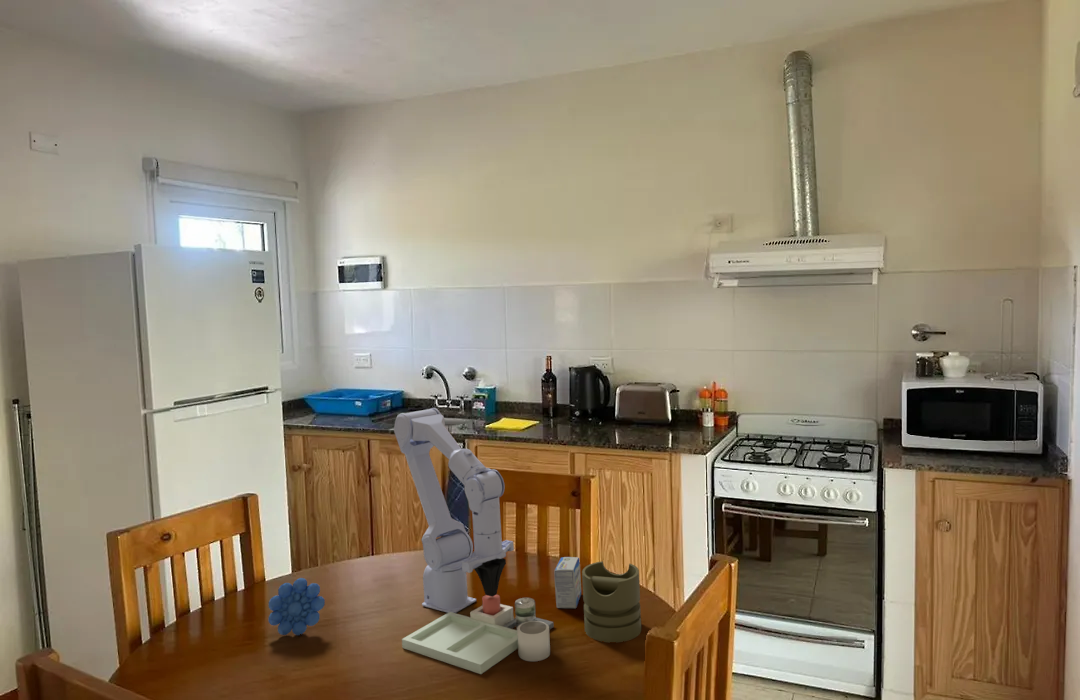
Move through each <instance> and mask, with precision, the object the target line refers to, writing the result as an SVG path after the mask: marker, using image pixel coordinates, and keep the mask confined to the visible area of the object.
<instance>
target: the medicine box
mask: <svg viewBox="0 0 1080 700" xmlns="http://www.w3.org/2000/svg"><path fill="white" fill-rule="evenodd" d="M580 563H581V562H580V557H578V556H576V557H575V556H564V557H560V559H559V561H558V563H557V564H556V567H555V568H554V572H553V573H554V588H555V603H556V605H555V606H556V608H557V609H576V608H577V607H578V604H579V602H580V601H579V600H580V599H581V596H582V582H581V580H582V579H581V564H580ZM576 610H577V609H576Z"/></svg>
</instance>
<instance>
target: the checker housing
mask: <svg viewBox="0 0 1080 700" xmlns="http://www.w3.org/2000/svg"><path fill="white" fill-rule="evenodd" d="M469 614H470V616H469V617H470V618H473V619H477V620H480V621H484V622H487V623H491V624H496V625H499V626H504V625H505V624H507V623H509V622H510V621H512V620H513V619H515V617H514V607H513V606H510V605H506V604H503V603H500V612H498V613H497V614H495V615H494V616H492V615H489V614H485V613H483V604H482V605H481V606H478V607H477V608H475V609H473V610H471V611H470V613H469Z"/></svg>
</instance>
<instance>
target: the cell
mask: <svg viewBox="0 0 1080 700" xmlns="http://www.w3.org/2000/svg"><path fill="white" fill-rule="evenodd" d="M514 610H515V611H514V613H515V618H516V626H515V628H516V629H515V630H517V628H518V626H519V625H520V624H522V623H524V622H528V621H536V618H537V617H536V613H537V612H536V601H535V599H534V598H531V597H522V598H521V597H520V598H518V599H516V600H515V602H514Z"/></svg>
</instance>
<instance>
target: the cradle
mask: <svg viewBox="0 0 1080 700" xmlns="http://www.w3.org/2000/svg"><path fill="white" fill-rule="evenodd" d="M536 621H541V622H544V623H546V624H548V626H549V631H550V630H551V629H553V628H554V627H555V626H554V625H555V624H554V621H551V620H547V619H543V618H540V617H536ZM503 627H506V628H510V629H514V628H516V617H514V619H513V620H512V621H510V622H509V623H507V624H505V625H504V626H503Z"/></svg>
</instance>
